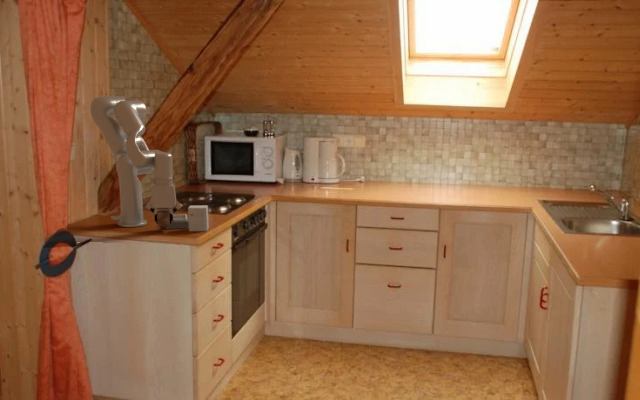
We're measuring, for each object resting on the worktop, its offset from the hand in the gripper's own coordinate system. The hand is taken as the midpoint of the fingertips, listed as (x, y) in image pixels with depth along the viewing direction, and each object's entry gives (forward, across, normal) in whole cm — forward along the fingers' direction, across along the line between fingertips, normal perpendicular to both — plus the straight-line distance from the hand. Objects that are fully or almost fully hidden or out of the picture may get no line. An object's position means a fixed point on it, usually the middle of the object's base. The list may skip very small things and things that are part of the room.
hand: (163, 222), depth 265 cm
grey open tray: (+4, +6, +9) cm, 12 cm away
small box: (+4, +15, -1) cm, 15 cm away
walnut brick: (+1, 0, 0) cm, 1 cm away
